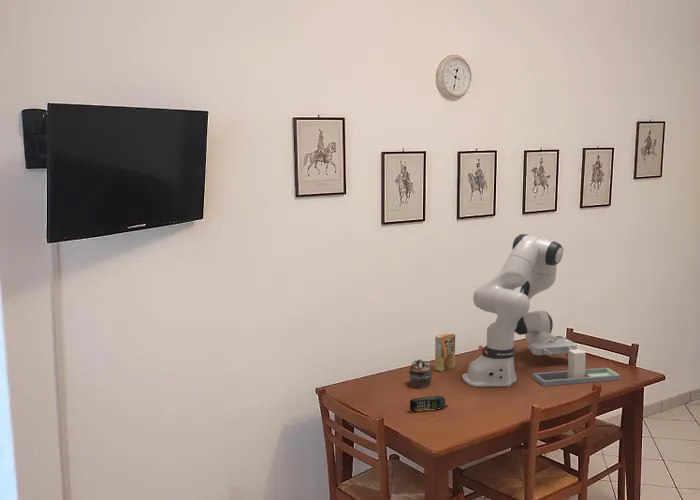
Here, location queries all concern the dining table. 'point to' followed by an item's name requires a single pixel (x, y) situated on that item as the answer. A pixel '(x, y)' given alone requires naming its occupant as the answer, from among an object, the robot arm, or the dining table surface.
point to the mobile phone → (427, 403)
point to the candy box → (444, 351)
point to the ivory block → (576, 363)
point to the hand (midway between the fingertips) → (561, 353)
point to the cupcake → (420, 373)
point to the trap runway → (561, 378)
